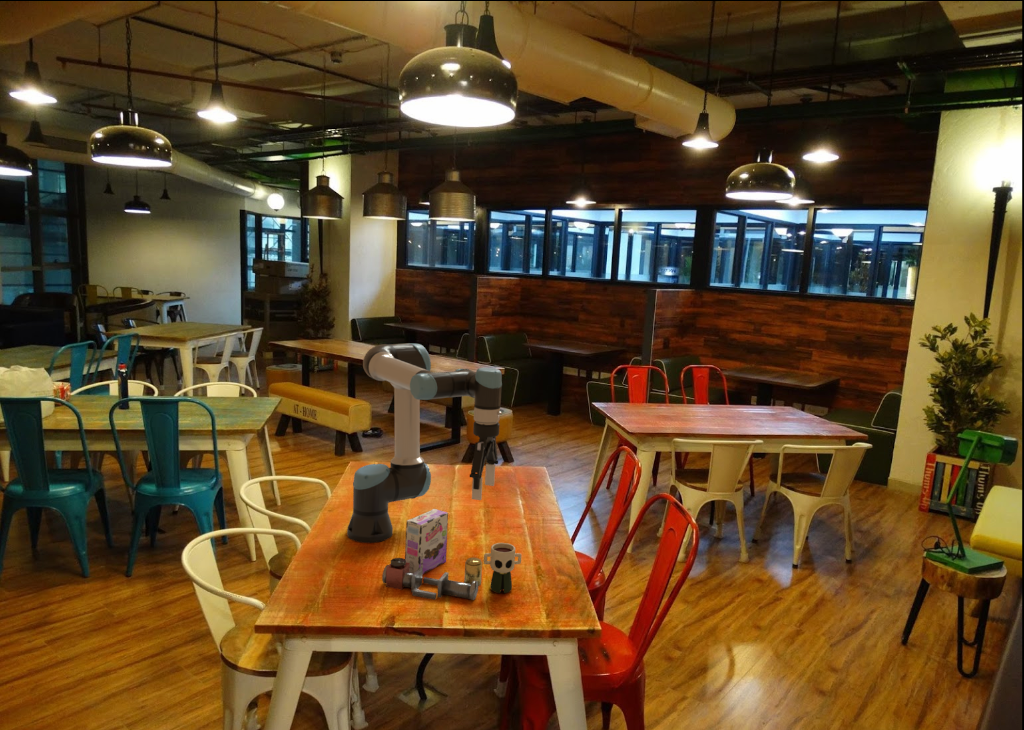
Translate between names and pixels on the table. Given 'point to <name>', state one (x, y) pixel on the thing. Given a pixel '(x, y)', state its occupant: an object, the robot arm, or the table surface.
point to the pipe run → (400, 577)
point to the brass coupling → (473, 570)
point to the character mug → (502, 566)
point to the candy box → (426, 540)
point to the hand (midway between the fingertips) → (483, 492)
